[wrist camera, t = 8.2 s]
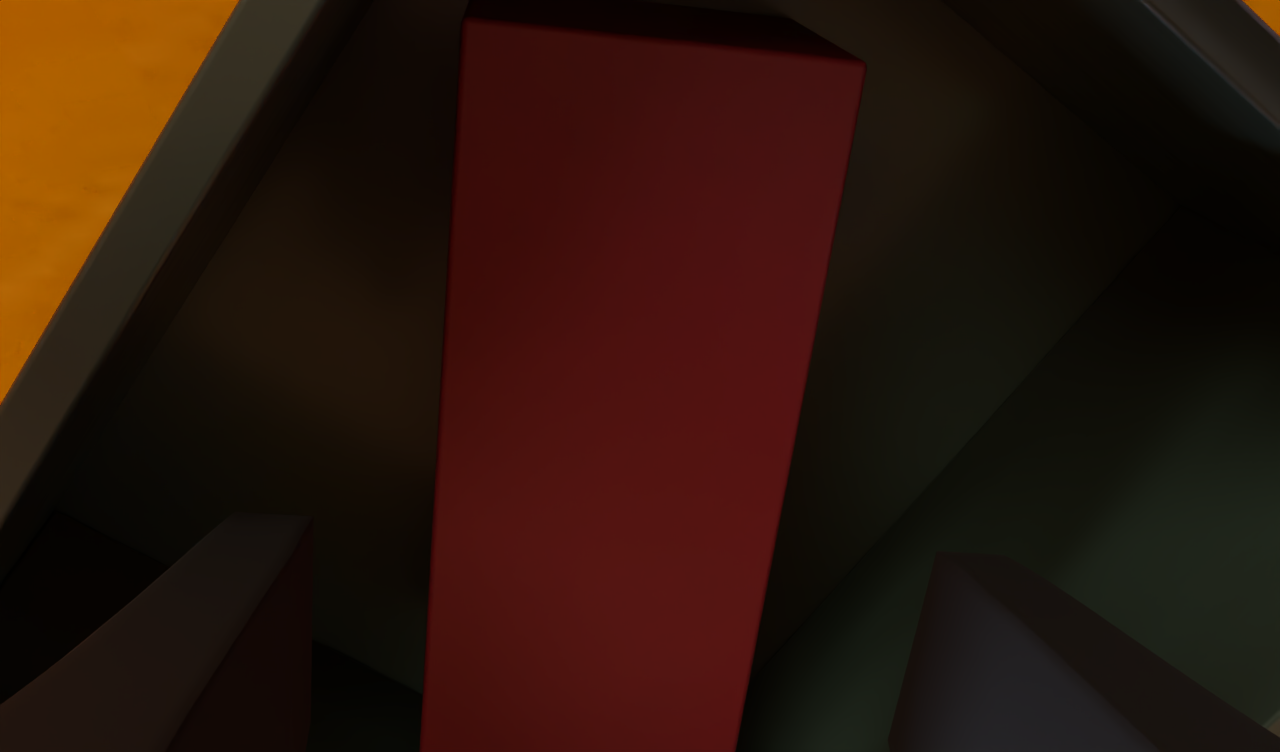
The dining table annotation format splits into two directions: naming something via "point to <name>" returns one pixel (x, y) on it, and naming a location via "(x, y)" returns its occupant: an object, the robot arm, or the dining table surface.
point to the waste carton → (838, 374)
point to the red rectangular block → (623, 365)
